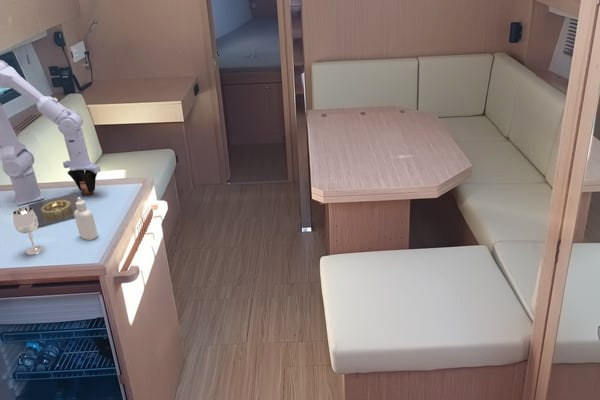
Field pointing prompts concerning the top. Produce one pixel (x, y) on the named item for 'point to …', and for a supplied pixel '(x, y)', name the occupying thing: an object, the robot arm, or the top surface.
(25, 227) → the wineglass
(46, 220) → the collar plate
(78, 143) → the robot arm
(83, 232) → the eye dropper bottle
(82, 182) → the round knob
